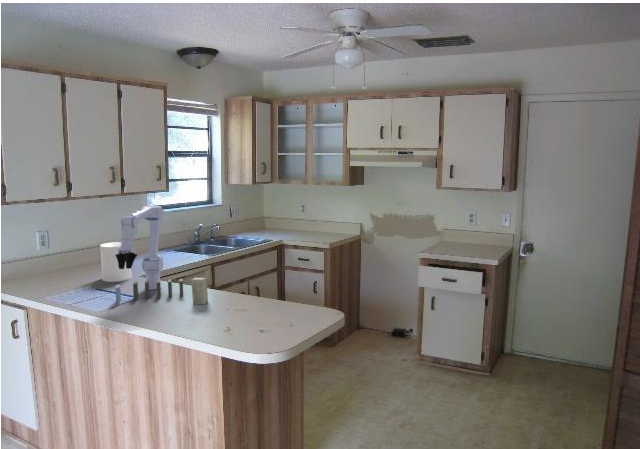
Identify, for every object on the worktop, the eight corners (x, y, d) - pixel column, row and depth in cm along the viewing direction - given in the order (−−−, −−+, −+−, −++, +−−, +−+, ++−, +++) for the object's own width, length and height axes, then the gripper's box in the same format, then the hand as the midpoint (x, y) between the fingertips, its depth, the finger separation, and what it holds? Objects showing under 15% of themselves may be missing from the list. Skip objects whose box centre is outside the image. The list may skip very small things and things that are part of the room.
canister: (136, 275, 296) (135, 242, 293) (123, 282, 280) (121, 247, 277) (111, 274, 298) (109, 241, 295) (96, 281, 282) (94, 246, 279)
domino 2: (134, 296, 252) (134, 281, 250) (138, 296, 252) (137, 281, 251) (133, 299, 247) (133, 284, 246) (137, 299, 247) (136, 283, 246)
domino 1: (117, 300, 245) (116, 284, 244) (121, 300, 245) (120, 284, 244) (116, 303, 240) (115, 287, 239) (119, 303, 241) (118, 287, 239)
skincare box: (208, 302, 243) (207, 277, 241) (203, 304, 239) (203, 279, 237) (196, 301, 244) (195, 276, 243) (191, 303, 240) (191, 279, 239)
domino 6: (180, 294, 257) (179, 278, 256) (183, 293, 257) (182, 278, 256) (179, 296, 252) (179, 281, 251) (183, 296, 253) (182, 281, 251)
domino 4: (157, 295, 254) (157, 280, 253) (161, 295, 255) (160, 280, 254) (157, 298, 249) (156, 282, 248) (160, 297, 250) (159, 282, 249)
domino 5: (169, 294, 256) (168, 279, 254) (172, 294, 256) (171, 279, 255) (168, 297, 251) (167, 281, 250) (171, 297, 251) (171, 281, 250)
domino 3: (146, 296, 253) (145, 280, 252) (149, 295, 253) (149, 280, 252) (145, 298, 248) (144, 283, 247) (148, 298, 249) (148, 283, 247)
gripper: (112, 240, 241) (109, 268, 239) (126, 238, 232) (123, 267, 229) (126, 242, 246) (124, 269, 244) (141, 240, 237) (138, 268, 234)
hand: (124, 268), depth 237 cm, fingers open, 7 cm apart
